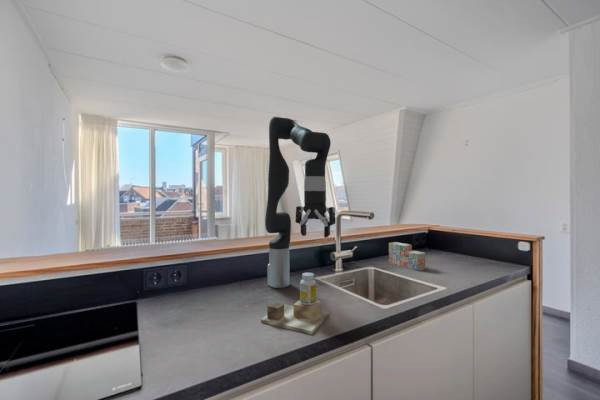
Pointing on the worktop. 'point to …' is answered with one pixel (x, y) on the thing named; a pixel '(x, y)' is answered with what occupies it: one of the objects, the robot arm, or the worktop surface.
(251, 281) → the worktop surface
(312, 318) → the oak pedestal
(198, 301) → the worktop surface
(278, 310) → the walnut block
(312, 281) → the supplement bottle
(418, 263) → the stack of blocks
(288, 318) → the birch board
